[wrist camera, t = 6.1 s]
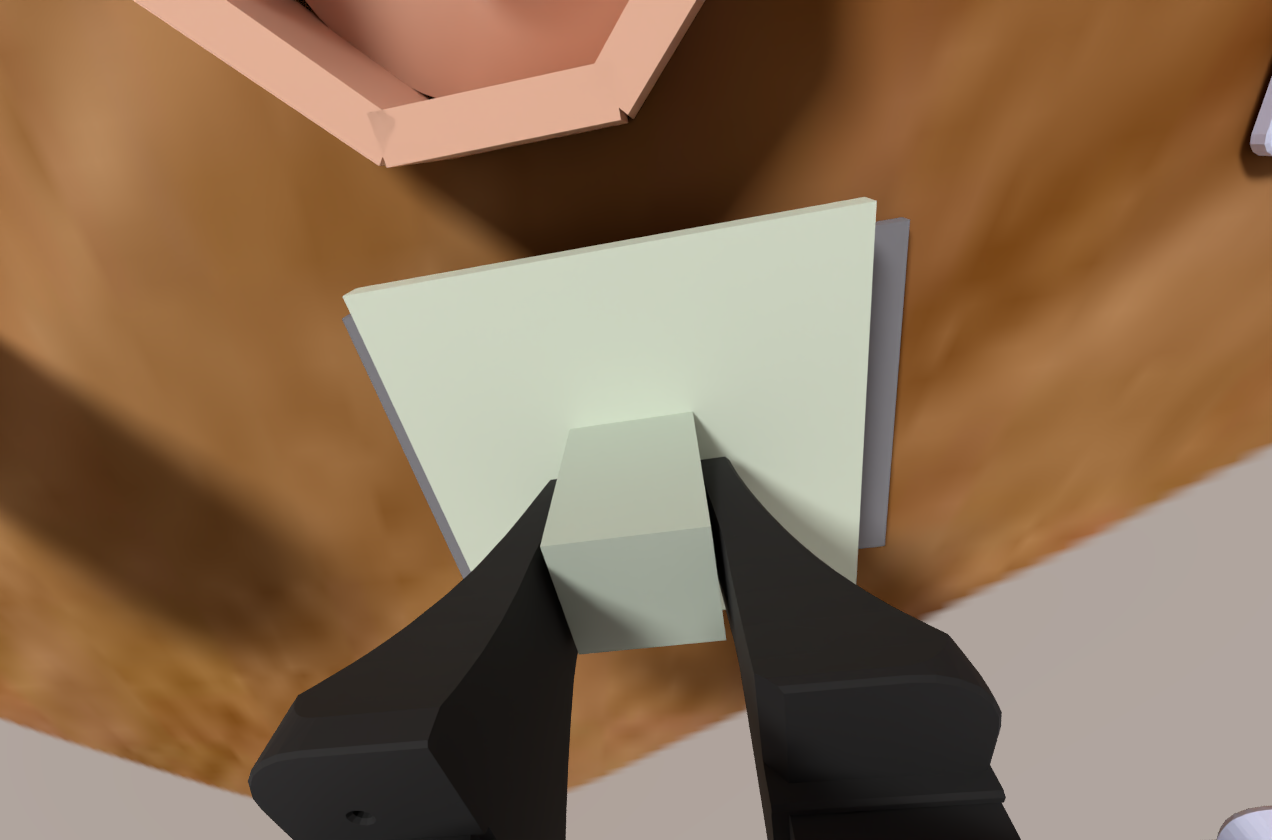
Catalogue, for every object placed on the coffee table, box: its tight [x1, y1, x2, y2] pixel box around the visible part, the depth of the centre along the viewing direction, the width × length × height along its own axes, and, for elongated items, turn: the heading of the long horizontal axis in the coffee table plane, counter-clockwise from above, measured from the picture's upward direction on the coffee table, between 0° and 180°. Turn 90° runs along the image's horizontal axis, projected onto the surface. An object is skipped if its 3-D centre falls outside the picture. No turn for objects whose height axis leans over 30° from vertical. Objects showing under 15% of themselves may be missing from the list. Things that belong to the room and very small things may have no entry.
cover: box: [343, 197, 877, 654], centre depth 12 cm, size 11×11×5 cm
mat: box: [342, 217, 910, 579], centre depth 15 cm, size 14×10×1 cm
